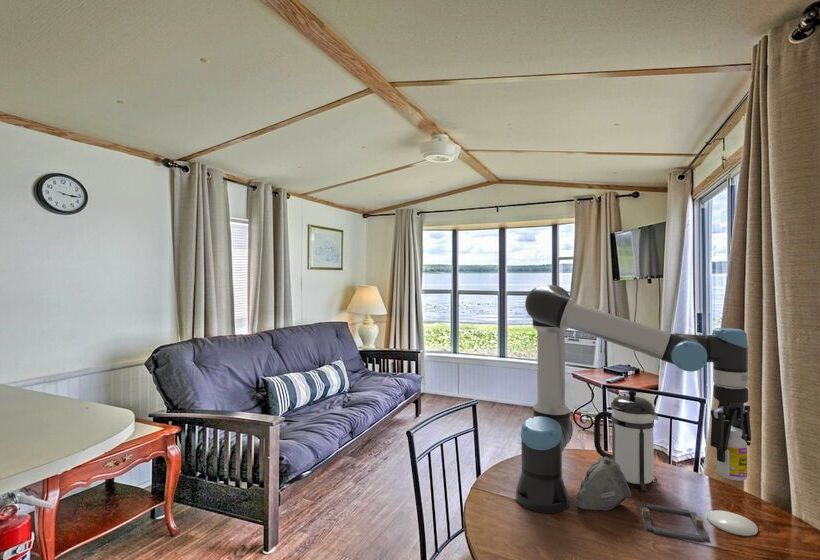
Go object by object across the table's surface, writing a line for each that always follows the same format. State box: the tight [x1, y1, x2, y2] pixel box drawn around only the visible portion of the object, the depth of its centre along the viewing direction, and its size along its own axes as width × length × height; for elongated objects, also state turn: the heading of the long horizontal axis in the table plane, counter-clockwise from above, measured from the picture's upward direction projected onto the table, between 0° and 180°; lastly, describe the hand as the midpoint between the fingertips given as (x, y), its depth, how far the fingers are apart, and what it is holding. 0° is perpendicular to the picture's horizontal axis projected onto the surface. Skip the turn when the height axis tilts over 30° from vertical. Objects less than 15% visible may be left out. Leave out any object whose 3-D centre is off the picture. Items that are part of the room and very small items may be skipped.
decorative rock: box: [576, 456, 632, 512], centre depth 122 cm, size 16×7×15 cm, turn 93°
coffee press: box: [593, 389, 660, 493], centre depth 139 cm, size 17×16×30 cm
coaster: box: [706, 509, 759, 537], centre depth 114 cm, size 11×11×1 cm
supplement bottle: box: [715, 426, 748, 482], centre depth 114 cm, size 7×7×13 cm
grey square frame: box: [638, 502, 711, 543], centre depth 115 cm, size 14×14×2 cm
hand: (731, 470), depth 114 cm, fingers closed on supplement bottle, 7 cm apart
